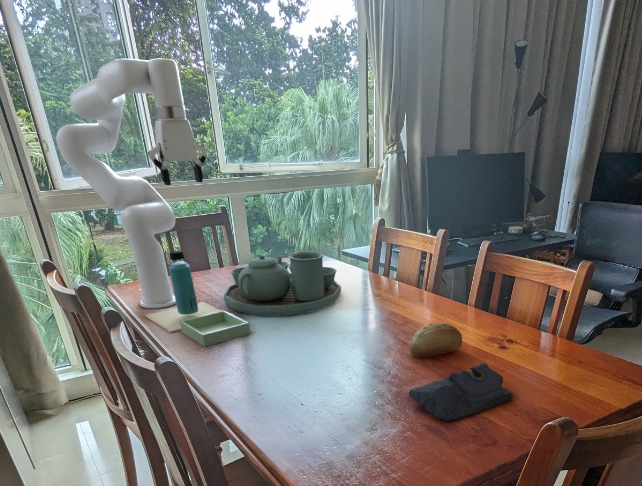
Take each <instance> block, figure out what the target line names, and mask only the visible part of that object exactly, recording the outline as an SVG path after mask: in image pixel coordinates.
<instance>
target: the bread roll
mask: <svg viewBox="0 0 642 486" xmlns="http://www.w3.org/2000/svg"><path fill="white" fill-rule="evenodd" d="M462 344H463V334H462V332H460V330H459V329H458V328H457V327H455V325H452V324H449V323H446V322H440V321H439V322H430V323H426V324H424V325H422V326H421V327H420V328H418V330H417V331H416V332H415V333H414V334H413V336H412V338H411V341H410V343H409V351H410V355H412V356H413V357H415V358H428V357H434V356H437V355H443V354H447V353H452V352H456V351H458V350H459V349H460V348H461V347H462V346H463V345H462Z"/></svg>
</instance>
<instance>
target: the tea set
mask: <svg viewBox="0 0 642 486" xmlns="http://www.w3.org/2000/svg"><path fill="white" fill-rule="evenodd" d="M287 257H288V259H289V262H290V263H288V262H287V261H282V260H283V259H282V257H281V256H278V257H277V259H276V258H274V257H271V256H265V255H263V254H261V255H259V256H258V257H255V258H251V259H250V260H248V262H247V266H242V267H238V268H237V267H236V268H234V269H232V270H231V272H230V274H231V276H232V278H233V281H234V284H232V285H230V286H228V287H227V289H226V290H225V292H224V294H223V298H224V302H225V304H226V305H227V306H229V307H230V308H231V309H233V310H234V311H236V312H240V313H244V314H249V315H255V316H261V317H262V316H264V317H265V316H267V317H269V316H271V317H272V316H275V317H277V316H279V317H280V316H283V317H284V316H285V317H287V316H294V315H299V314H305V313H306V314H307V313H313V312H316V311H319V310H321V309H323V308H326V307H329V306H331V305H333V304H335V303H336V301H337V300H338V298H339V297H340V296H341V293H342V286H341V285H340V284H339V283H338V282H337V281H336V280H335V278H336V274H337V270H336V268H334V267H330V266H324V264H323V263H324V262H323V258H324V257H325V254H324V253H323V252H321V251H313V250H312V251H310V250H307V251H306V250H305V251H294V252H293V253H290V254H289V255H288V256H287ZM288 269H289V270H288Z"/></svg>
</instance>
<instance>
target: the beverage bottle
mask: <svg viewBox="0 0 642 486" xmlns="http://www.w3.org/2000/svg"><path fill="white" fill-rule="evenodd" d="M169 260H171V261H174V262H172V263H171V264H170V265H169V266H168V270H169V271H168V272H169V276H170V280H171V284H172V294H173V295H175V299H176V304H175V305H176V308H178V309H177V310H178V312H179V313H180V314H183V315H188V314H193V313H196V312H198V305H197V303H198V299H197V298H198V297H197V295H196V291H195V286H194V285H195V284H194V281H193V280H194V278H193V275H192V271H191V265H190V264H189V263H187V262H186V261H181V260H185V255H184V252H183V250H172V251H170V252H169Z"/></svg>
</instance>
